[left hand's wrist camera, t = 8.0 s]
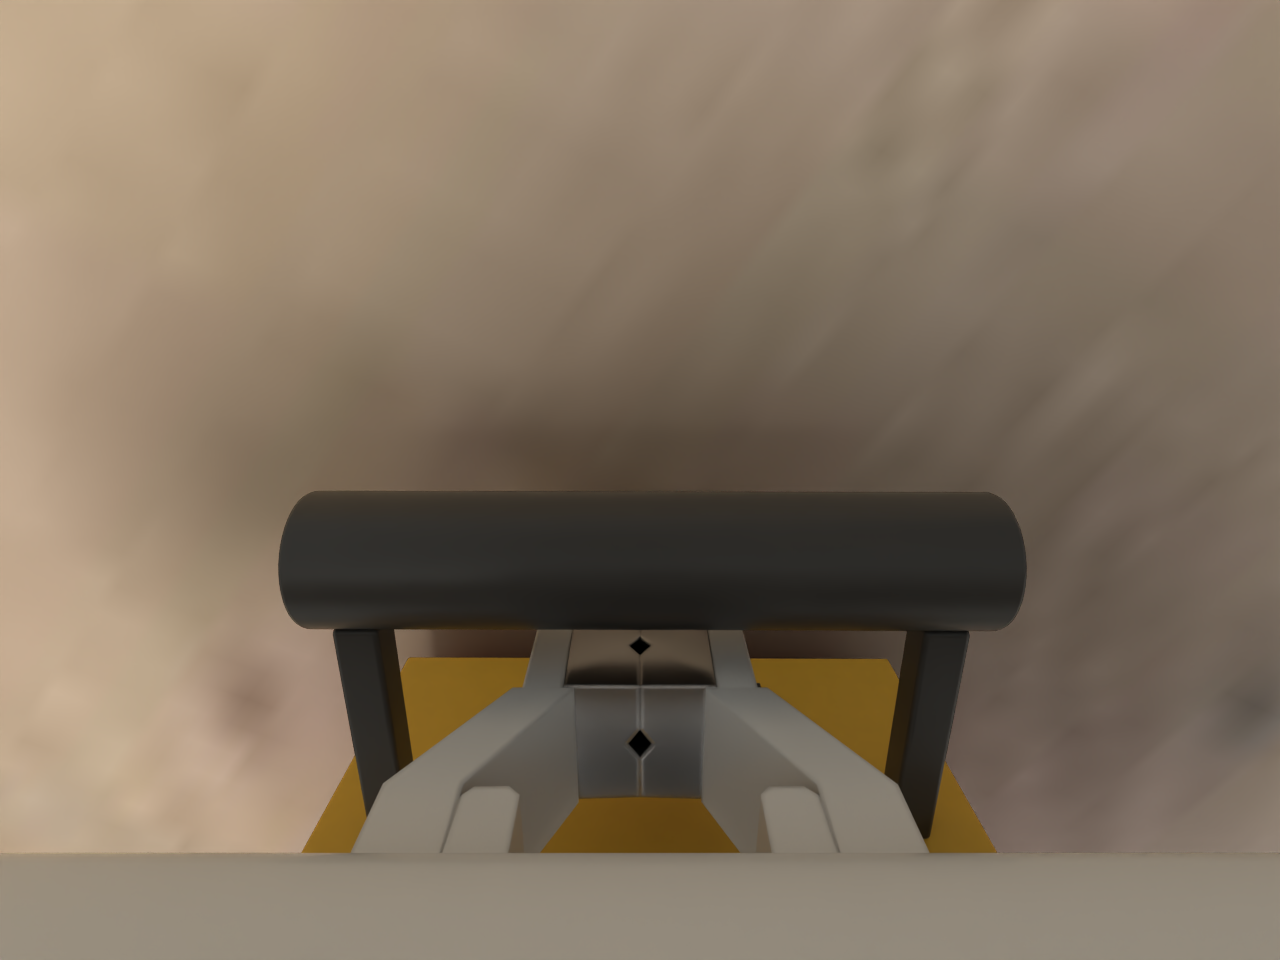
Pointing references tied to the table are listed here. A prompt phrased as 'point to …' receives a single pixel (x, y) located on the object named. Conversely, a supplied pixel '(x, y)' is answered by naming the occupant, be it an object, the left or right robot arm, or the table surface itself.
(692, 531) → the drawer
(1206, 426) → the table surface
